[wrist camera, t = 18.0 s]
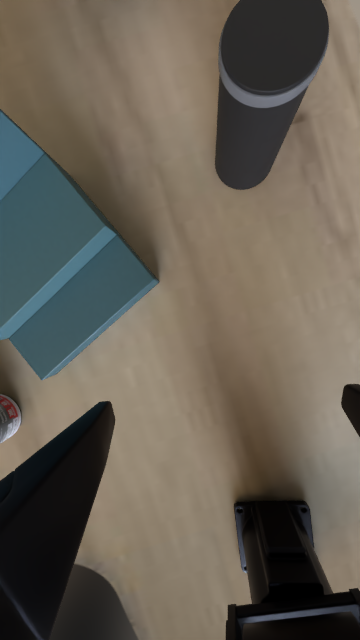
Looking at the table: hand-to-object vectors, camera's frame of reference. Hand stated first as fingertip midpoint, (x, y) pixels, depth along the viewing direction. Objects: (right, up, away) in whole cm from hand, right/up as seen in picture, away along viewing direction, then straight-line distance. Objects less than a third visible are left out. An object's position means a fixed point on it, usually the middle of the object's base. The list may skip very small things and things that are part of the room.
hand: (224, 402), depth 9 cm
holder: (+4, +17, +11) cm, 20 cm away
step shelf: (-13, +7, +13) cm, 20 cm away
